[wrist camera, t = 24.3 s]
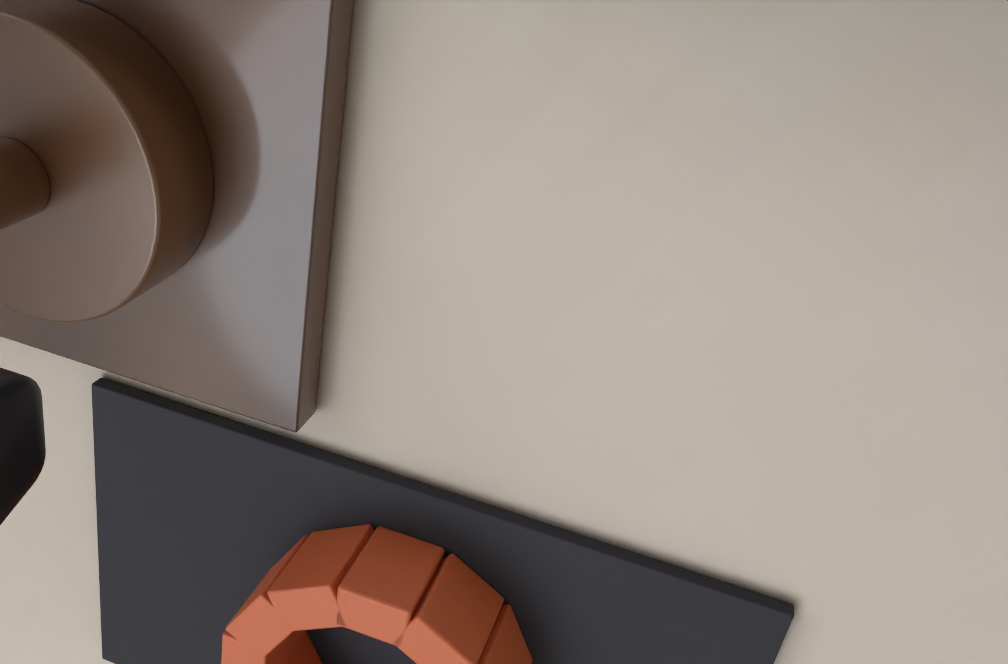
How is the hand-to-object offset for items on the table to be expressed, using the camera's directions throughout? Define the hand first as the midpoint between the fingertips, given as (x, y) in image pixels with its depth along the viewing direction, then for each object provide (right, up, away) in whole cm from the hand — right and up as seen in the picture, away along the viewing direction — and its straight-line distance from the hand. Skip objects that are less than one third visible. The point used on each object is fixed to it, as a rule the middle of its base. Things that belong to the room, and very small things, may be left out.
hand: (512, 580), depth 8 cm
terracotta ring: (-3, -6, +17) cm, 19 cm away
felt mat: (-3, -6, +18) cm, 19 cm away
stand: (-9, +6, +14) cm, 18 cm away
